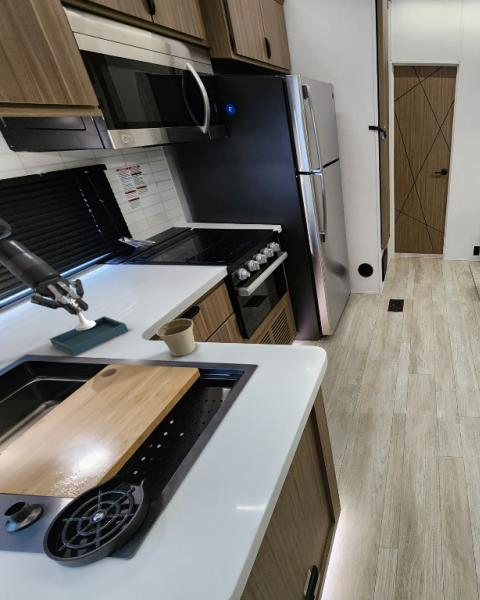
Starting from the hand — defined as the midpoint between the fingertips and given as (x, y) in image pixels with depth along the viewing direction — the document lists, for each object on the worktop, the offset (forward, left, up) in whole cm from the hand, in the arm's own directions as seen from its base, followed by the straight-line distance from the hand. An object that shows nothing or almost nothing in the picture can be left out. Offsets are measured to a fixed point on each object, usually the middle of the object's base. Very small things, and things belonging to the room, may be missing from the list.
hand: (82, 311), depth 102 cm
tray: (0, +2, -10) cm, 11 cm away
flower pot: (+8, -32, -11) cm, 35 cm away
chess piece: (0, +2, -6) cm, 6 cm away
